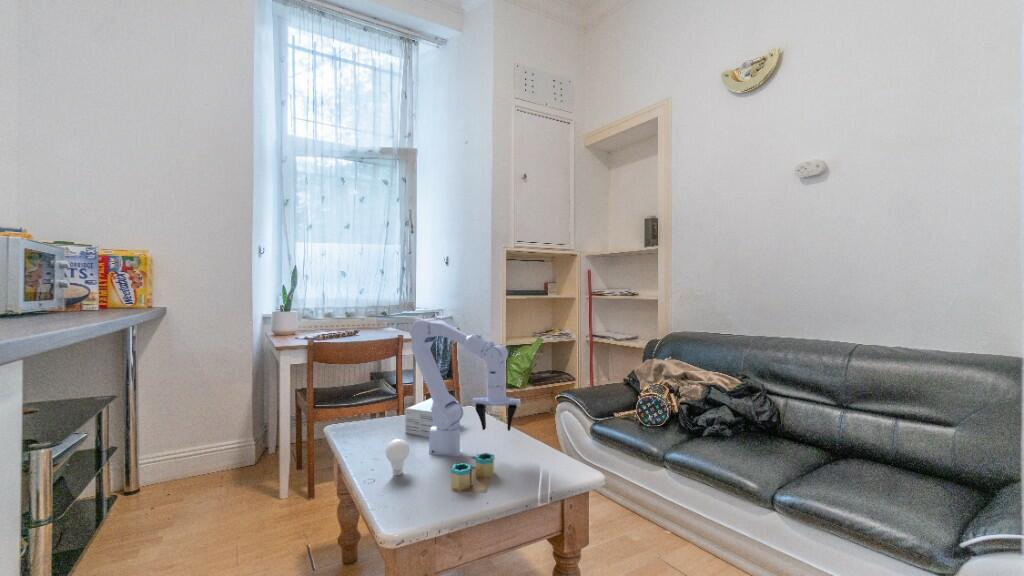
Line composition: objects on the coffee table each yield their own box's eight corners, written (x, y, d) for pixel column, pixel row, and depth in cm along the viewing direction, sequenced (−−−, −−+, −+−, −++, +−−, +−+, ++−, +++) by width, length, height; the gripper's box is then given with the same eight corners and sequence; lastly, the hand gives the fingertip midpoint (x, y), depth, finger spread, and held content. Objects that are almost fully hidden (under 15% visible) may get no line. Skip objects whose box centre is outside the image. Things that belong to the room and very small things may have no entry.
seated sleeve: (449, 490, 111) (449, 471, 111) (454, 481, 117) (454, 462, 117) (468, 491, 111) (468, 472, 111) (472, 481, 116) (472, 463, 116)
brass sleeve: (474, 478, 118) (474, 460, 118) (478, 470, 124) (478, 452, 124) (492, 479, 118) (492, 460, 118) (494, 470, 123) (494, 453, 123)
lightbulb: (397, 485, 118) (396, 445, 118) (380, 480, 121) (380, 440, 121) (414, 476, 123) (413, 437, 123) (398, 471, 126) (397, 433, 126)
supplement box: (435, 438, 154) (435, 412, 154) (404, 433, 159) (404, 408, 159) (459, 424, 170) (459, 400, 170) (430, 420, 175) (430, 397, 175)
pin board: (451, 496, 111) (451, 475, 111) (462, 474, 124) (462, 455, 124) (486, 498, 110) (486, 476, 110) (493, 475, 123) (493, 456, 123)
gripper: (470, 387, 130) (470, 432, 130) (519, 388, 128) (519, 434, 129) (474, 382, 137) (474, 425, 137) (520, 382, 136) (521, 426, 136)
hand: (496, 429), depth 133 cm, fingers open, 7 cm apart
